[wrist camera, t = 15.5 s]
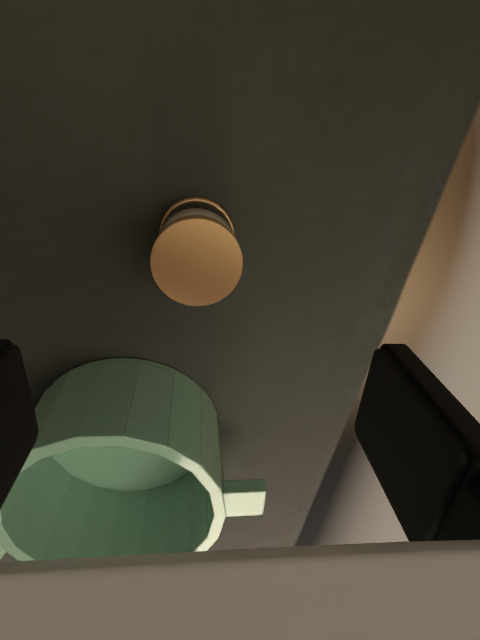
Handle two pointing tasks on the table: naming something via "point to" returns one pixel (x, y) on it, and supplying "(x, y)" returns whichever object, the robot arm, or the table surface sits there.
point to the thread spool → (196, 253)
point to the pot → (123, 468)
